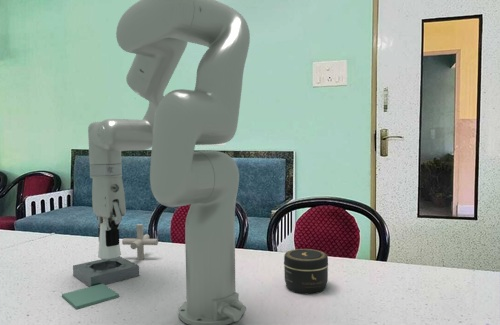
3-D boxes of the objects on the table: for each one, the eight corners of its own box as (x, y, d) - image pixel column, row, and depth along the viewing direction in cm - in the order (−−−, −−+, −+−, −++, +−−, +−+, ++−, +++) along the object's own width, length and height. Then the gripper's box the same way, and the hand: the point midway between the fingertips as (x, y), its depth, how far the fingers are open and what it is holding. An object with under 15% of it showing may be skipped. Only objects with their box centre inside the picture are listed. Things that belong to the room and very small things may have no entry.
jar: (293, 297, 83) (293, 262, 83) (278, 281, 93) (277, 250, 92) (336, 292, 86) (336, 258, 85) (316, 277, 95) (316, 246, 95)
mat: (119, 296, 84) (119, 294, 84) (76, 309, 78) (76, 306, 78) (102, 286, 91) (102, 283, 91) (61, 296, 85) (61, 294, 85)
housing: (139, 275, 98) (139, 265, 98) (91, 288, 90) (90, 277, 90) (118, 265, 107) (118, 255, 107) (73, 275, 99) (72, 265, 98)
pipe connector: (163, 254, 117) (162, 221, 116) (151, 264, 107) (150, 228, 106) (130, 253, 118) (130, 220, 117) (116, 263, 108) (115, 228, 107)
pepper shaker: (98, 254, 100) (97, 212, 99) (121, 252, 101) (119, 210, 101) (97, 260, 95) (95, 215, 94) (120, 257, 96) (119, 213, 96)
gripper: (135, 171, 94) (138, 246, 94) (107, 169, 106) (110, 236, 107) (104, 173, 89) (107, 253, 89) (78, 171, 101) (81, 241, 102)
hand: (109, 243), depth 98 cm, fingers closed on pepper shaker, 3 cm apart
